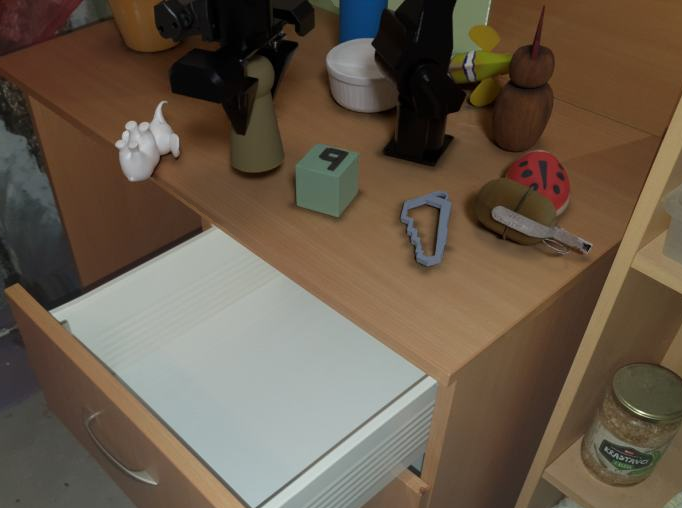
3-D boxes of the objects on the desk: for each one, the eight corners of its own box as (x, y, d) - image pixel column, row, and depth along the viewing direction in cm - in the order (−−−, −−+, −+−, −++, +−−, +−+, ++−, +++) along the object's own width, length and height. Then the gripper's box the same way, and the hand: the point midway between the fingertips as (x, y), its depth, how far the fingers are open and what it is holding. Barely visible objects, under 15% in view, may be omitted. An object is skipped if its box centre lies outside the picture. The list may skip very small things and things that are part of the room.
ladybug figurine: (560, 168, 80) (569, 141, 77) (574, 228, 74) (585, 200, 71) (498, 165, 80) (506, 138, 78) (507, 224, 74) (515, 196, 71)
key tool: (393, 268, 71) (445, 269, 69) (392, 261, 70) (445, 261, 69) (405, 198, 79) (452, 198, 77) (405, 191, 78) (452, 190, 77)
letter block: (338, 217, 76) (338, 175, 72) (296, 205, 78) (294, 163, 74) (358, 193, 79) (359, 151, 75) (317, 182, 81) (316, 140, 77)
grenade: (472, 213, 76) (578, 268, 73) (456, 225, 71) (569, 283, 68) (498, 162, 73) (610, 216, 70) (483, 170, 68) (603, 228, 65)
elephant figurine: (131, 81, 84) (149, 124, 90) (88, 154, 79) (109, 195, 84) (188, 85, 82) (203, 128, 87) (148, 160, 77) (166, 202, 82)
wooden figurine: (506, 124, 88) (531, -4, 77) (551, 138, 85) (583, 7, 75) (479, 148, 84) (501, 17, 74) (524, 164, 82) (555, 30, 71)
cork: (292, 163, 78) (286, 64, 70) (240, 177, 77) (227, 77, 69) (273, 138, 82) (265, 41, 74) (223, 151, 81) (209, 54, 73)
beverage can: (384, 48, 104) (390, -42, 95) (384, 69, 99) (390, -24, 91) (339, 48, 105) (340, -41, 96) (337, 68, 100) (338, -24, 91)
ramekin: (343, 124, 89) (344, 84, 85) (313, 85, 97) (313, 46, 93) (426, 108, 91) (431, 67, 87) (391, 70, 99) (393, 31, 95)
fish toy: (515, 102, 85) (536, 100, 94) (514, 14, 82) (536, 21, 91) (395, 114, 92) (425, 112, 102) (391, 34, 90) (423, 39, 99)
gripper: (219, -74, 74) (233, 73, 85) (105, -9, 63) (139, 150, 74) (316, -61, 70) (318, 91, 81) (212, 10, 59) (231, 175, 70)
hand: (252, 124), depth 77 cm, fingers closed on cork, 4 cm apart
